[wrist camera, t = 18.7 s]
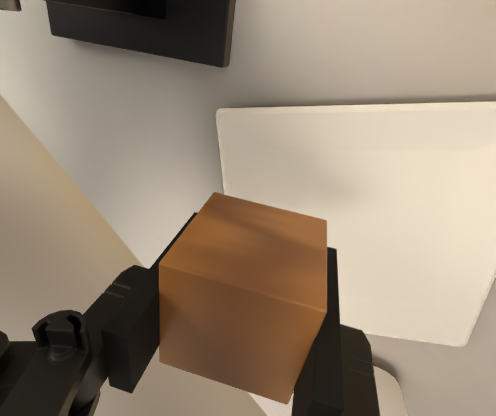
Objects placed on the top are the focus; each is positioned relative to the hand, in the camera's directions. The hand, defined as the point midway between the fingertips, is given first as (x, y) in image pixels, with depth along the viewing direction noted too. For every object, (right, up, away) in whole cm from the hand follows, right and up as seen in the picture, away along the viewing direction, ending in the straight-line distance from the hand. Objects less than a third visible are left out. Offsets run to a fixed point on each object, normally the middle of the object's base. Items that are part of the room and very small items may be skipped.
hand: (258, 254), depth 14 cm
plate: (+7, +1, +9) cm, 12 cm away
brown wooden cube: (0, 0, 0) cm, 0 cm away
